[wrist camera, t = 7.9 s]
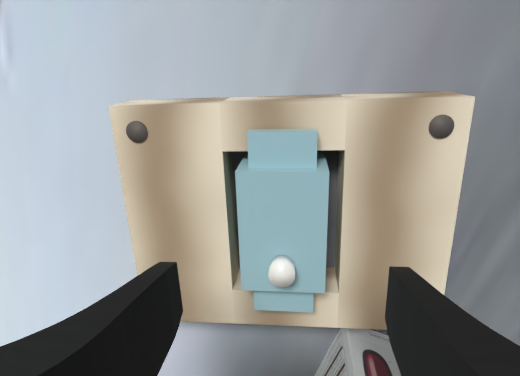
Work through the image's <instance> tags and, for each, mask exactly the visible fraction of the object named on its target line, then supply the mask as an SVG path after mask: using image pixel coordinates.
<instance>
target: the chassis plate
mask: <svg viewBox="0 0 520 376" xmlns="http://www.w3.org/2000/svg"><path fill="white" fill-rule="evenodd" d="M474 101H475V97H473V96H469V95H464V94H460V93H455V92H415V93H378V94H342V95H305V96H268V97H231V98H194V99H157V100H131V101H127V102H123V103H119V104H115V105H111V106H109V112H110V118H111V124H112V130H113V135H114V141H115V147H116V153H117V159H118V165H119V170H120V176H121V182H122V188H123V194H124V200H125V205H126V211H127V217H128V223H129V229H130V235H131V240H132V246H133V252H134V258H135V264H136V270H137V276H138V275H140V274H141V273H143V272H144V271H146V270H147V269H149V268H150V267H152V266H153V265H155V264H157V263H159V262H177V268H178V275H179V283H180V290H181V298H182V306H183V313H182V317H181V320H180V321H186V322H210V323H234V324H259V325H283V326H307V327H331V328H355V329H379V330H387V326H386V322H385V310H386V299H387V288H388V277H389V266H392V267H410V268H411V269H412V270H414V271H415V272H416V273H417V274H419V275H420V276H421V277H422V278H424V279H425V280H426V281H427V282H428V283H430V284H431V285H432V286H433V287H434V288H436V289H437V290H438V291H439V292H441V293H442V294H443V295H444V292H445V286H446V280H447V273H448V267H449V260H450V254H451V248H452V241H453V235H454V229H455V222H456V216H457V209H458V203H459V197H460V190H461V184H462V178H463V171H464V165H465V158H466V152H467V146H468V139H469V133H470V126H471V120H472V114H473V107H474ZM249 129H317V131H318V135H317V150H324V153H325V157H326V161H327V165H328V168H329V197H328V224H327V252H326V279H325V293H314V300H313V313H312V312H289V311H266V310H254V292H253V291H250V290H241V273H240V254H239V236H238V217H237V198H236V180H235V171H236V169H237V167H238V166H239V164H240V162H241V160H242V159H243V157H244V155H245V153H246V152H247V151H248V145H247V131H248V130H249Z"/></svg>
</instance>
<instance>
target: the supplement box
mask: <svg viewBox="0 0 520 376" xmlns="http://www.w3.org/2000/svg"><path fill="white" fill-rule="evenodd" d="M314 376H401V373H400V370H399V368H398V365H397V362H396V359H395V356H394V354H393V351H392V348H391V344H390V340H389V336H388V335H385V334H382V333H380V332H377V331H374V330H371V329H355V328H340V330H339V332H338V333H337V335H336V337H335V339H334V340H333V342H332V344H331V346H330V348H329V350H328V352H327V353H326V355H325V357H324V359H323V361H322V362H321V364H320V366H319V368H318V370H317V372H316V374H315V375H314Z"/></svg>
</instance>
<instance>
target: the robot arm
mask: <svg viewBox="0 0 520 376" xmlns="http://www.w3.org/2000/svg"><path fill="white" fill-rule="evenodd" d="M182 313H183V306H182V298H181V290H180V283H179V275H178V268H177V262H159V263H157V264H155V265H153V266H152V267H150V268H149V269H147V270H146V271H144V272H143V273H141V274H140V275H138V276H137V277H135V278H134V279H132V280H131V281H129V282H128V283H126V284H125V285H123V286H122V287H120V288H119V289H117V290H116V291H114V292H112V293H111V294H109V295H107V296H106V297H104V298H102V299H101V300H99V301H98V302H96V303H94V304H93V305H91V306H89V307H87V308H86V309H84V310H82V311H80V312H78V313H77V314H75V315H73V316H71V317H69V318H67V319H65V320H63V321H61V322H59V323H57V324H55V325H52V326H50V327H48V328H45V329H43V330H41V331H38V332H36V333H34V334H31V335H29V336H27V337H24V338H22V339H20V340H17V341H14V342H12V343H9V344H6V345H4V346H1V347H0V376H157V375H158V373H159V371H160V369H161V367H162V364H163V362H164V360H165V358H166V356H167V354H168V352H169V349H170V347H171V345H172V343H173V341H174V338H175V336H176V333H177V330H178V327H179V323H180V320H181V317H182ZM385 322H386V326H387V331H388V336H389V340H390V344H391V348H392V351H393V354H394V356H395V359H396V362H397V365H398V368H399V370H400V373H401V376H520V346H519V345H517V344H515V343H513V342H512V341H510V340H508V339H507V338H505V337H503V336H502V335H500V334H498V333H497V332H495V331H493V330H492V329H490V328H489V327H487V326H486V325H484V324H483V323H481V322H480V321H478V320H477V319H475V318H474V317H473V316H471V315H470V314H468V313H467V312H465V311H464V310H463V309H461V308H460V307H459V306H457V305H456V304H455V303H453V302H452V301H451V300H449V299H448V298H447V297H446V296H444V295H443V294H442V293H441V292H439V291H438V290H437V289H436V288H434V287H433V286H432V285H431V284H430V283H428V282H427V281H426V280H425V279H424V278H422V277H421V276H420V275H419V274H417V273H416V272H415V271H414V270H412V269H411V268H410V267H392V266H389V277H388V288H387V299H386V310H385Z"/></svg>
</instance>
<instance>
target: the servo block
mask: <svg viewBox="0 0 520 376" xmlns="http://www.w3.org/2000/svg"><path fill="white" fill-rule="evenodd" d="M317 135H318V131H317V129H249V130H248V131H247V145H248V151H247V152H246V153H245V155H244V157H243V159H242V160H241V162H240V164H239V166H238V167H237V169H236V171H235V180H236V198H237V217H238V236H239V254H240V273H241V290H250V291H253V292H254V310H266V311H289V312H312V313H313V300H314V293H325V279H326V252H327V224H328V197H329V168H328V165H327V161H326V157H325V153H324V150H317Z"/></svg>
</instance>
